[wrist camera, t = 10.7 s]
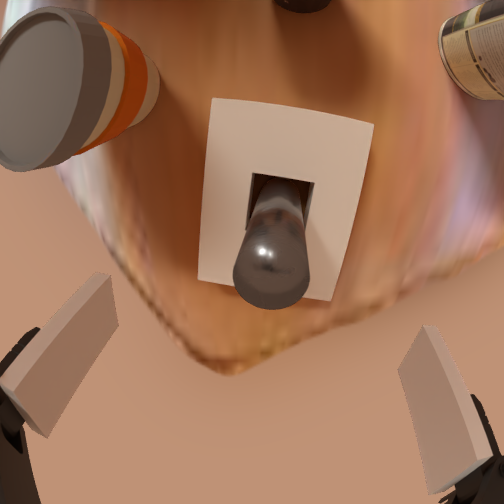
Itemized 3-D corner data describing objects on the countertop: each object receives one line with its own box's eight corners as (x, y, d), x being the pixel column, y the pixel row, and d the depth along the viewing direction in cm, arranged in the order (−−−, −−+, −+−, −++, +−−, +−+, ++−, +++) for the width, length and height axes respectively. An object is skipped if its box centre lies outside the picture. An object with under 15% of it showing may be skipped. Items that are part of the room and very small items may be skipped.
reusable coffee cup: (188, 37, 23) (110, -12, 10) (164, 152, 29) (74, 188, 16) (90, 38, 23) (-6, 21, 10) (73, 138, 29) (-25, 167, 16)
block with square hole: (220, 99, 26) (212, 97, 23) (364, 123, 25) (374, 124, 22) (205, 264, 34) (197, 279, 31) (327, 283, 33) (330, 301, 30)
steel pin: (262, 174, 29) (236, 236, 15) (302, 181, 29) (317, 249, 14) (257, 212, 31) (229, 303, 16) (296, 218, 31) (301, 314, 16)
